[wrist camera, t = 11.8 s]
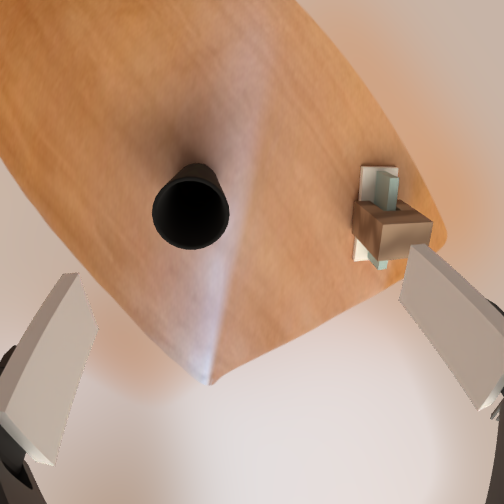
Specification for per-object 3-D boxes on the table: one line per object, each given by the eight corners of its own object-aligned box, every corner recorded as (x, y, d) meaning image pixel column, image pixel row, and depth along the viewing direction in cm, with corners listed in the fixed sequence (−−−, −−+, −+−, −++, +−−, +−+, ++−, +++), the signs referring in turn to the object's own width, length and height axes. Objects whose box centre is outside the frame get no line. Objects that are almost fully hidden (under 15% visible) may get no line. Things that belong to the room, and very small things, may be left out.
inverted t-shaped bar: (360, 166, 43) (375, 174, 38) (395, 166, 43) (412, 174, 39) (352, 259, 49) (364, 274, 45) (384, 255, 50) (398, 270, 46)
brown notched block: (354, 201, 44) (383, 224, 36) (400, 199, 45) (433, 222, 37) (351, 232, 46) (377, 261, 38) (396, 229, 47) (426, 255, 39)
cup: (200, 143, 39) (194, 160, 28) (237, 186, 42) (245, 218, 32) (156, 181, 41) (136, 212, 30) (193, 221, 44) (187, 263, 33)
